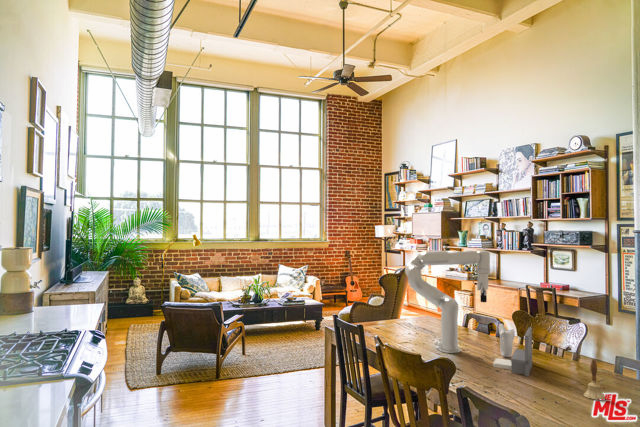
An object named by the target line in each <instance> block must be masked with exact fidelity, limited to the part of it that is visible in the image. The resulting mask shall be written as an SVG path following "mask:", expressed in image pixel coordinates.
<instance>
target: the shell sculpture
mask: <svg viewBox="0 0 640 427" xmlns="http://www.w3.org/2000/svg"><path fill="white" fill-rule="evenodd" d="M498 333H499V348H500V355H501V356H502V357H504V358H511V357H512V355H513V347H514V346H513V345H514V340H515V336H516V332H515V329H514V328H513V329H510V330H509V329H507V328H506V326H505V325H504V324H503V323H499V324H498Z"/></svg>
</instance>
